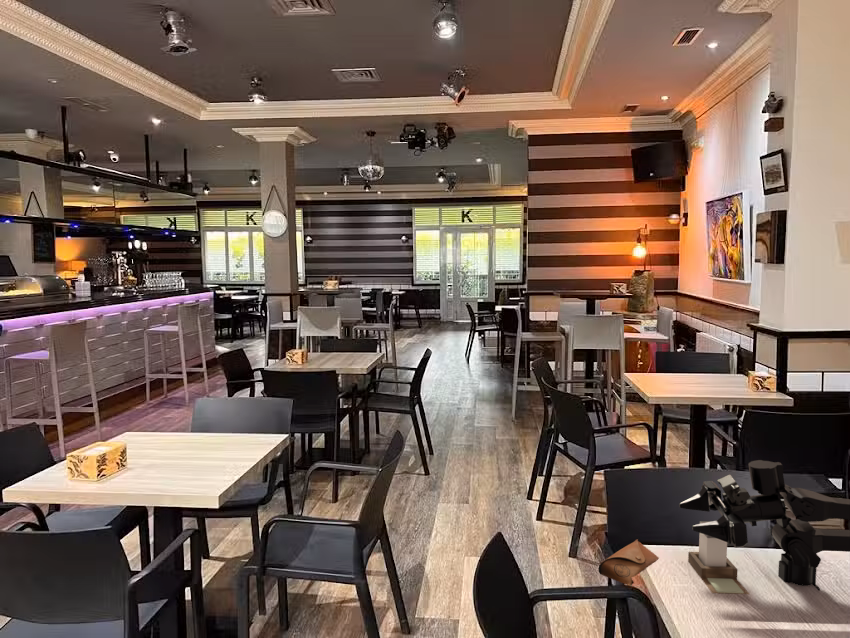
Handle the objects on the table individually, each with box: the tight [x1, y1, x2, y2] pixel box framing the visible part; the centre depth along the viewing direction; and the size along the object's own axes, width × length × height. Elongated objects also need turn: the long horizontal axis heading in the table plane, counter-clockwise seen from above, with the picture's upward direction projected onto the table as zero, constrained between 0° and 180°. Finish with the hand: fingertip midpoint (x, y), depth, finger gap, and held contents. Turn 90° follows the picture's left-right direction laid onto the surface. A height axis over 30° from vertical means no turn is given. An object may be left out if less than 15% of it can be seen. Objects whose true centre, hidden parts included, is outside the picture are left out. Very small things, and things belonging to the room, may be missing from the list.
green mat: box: [707, 578, 744, 594], centre depth 132 cm, size 6×6×1 cm
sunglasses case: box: [598, 538, 660, 587], centre depth 144 cm, size 18×7×7 cm
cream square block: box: [698, 520, 728, 567], centre depth 139 cm, size 5×5×11 cm
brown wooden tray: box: [687, 551, 750, 595], centre depth 136 cm, size 8×14×4 cm, turn 176°
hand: (685, 516), depth 138 cm, fingers open, 9 cm apart
